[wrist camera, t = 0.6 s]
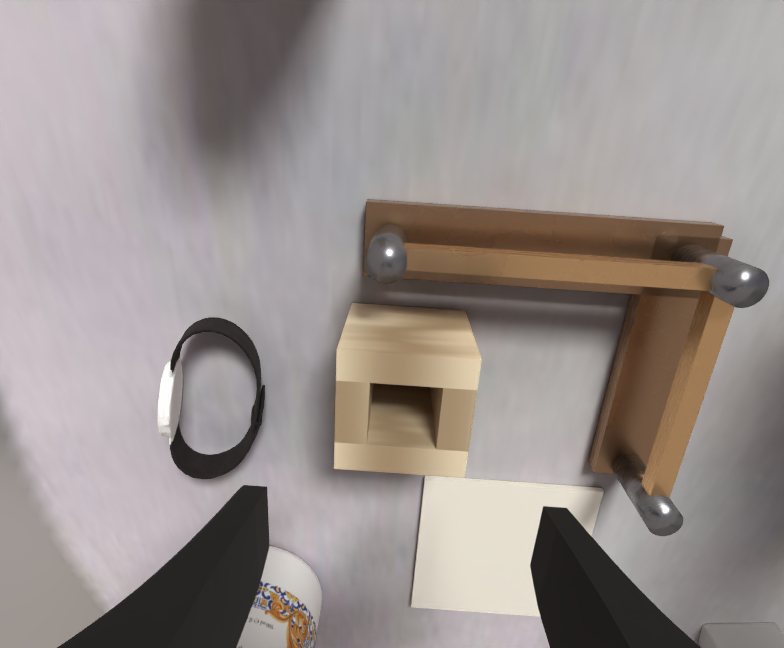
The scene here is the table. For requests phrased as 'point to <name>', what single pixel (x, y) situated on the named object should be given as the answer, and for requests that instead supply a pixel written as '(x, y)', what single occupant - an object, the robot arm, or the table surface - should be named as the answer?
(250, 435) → the watch
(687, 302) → the wooden rail
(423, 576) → the coaster
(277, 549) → the bath foam
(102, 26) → the table surface
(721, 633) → the lighter
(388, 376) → the hollow wooden cube
